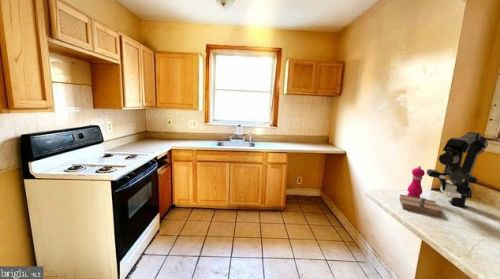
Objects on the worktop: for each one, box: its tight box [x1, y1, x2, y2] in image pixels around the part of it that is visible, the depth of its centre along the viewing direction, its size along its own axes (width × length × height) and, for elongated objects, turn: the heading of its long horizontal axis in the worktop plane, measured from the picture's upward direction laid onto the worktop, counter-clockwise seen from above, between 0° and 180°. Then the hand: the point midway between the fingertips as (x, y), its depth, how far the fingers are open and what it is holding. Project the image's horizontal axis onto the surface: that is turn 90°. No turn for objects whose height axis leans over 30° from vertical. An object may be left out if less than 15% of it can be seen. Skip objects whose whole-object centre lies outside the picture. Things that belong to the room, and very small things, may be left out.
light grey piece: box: [440, 179, 461, 199], centre depth 111 cm, size 14×4×6 cm, turn 154°
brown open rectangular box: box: [399, 194, 443, 218], centre depth 118 cm, size 14×16×8 cm
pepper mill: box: [406, 165, 425, 198], centre depth 130 cm, size 7×7×20 cm
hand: (447, 191), depth 113 cm, fingers closed on light grey piece, 3 cm apart
